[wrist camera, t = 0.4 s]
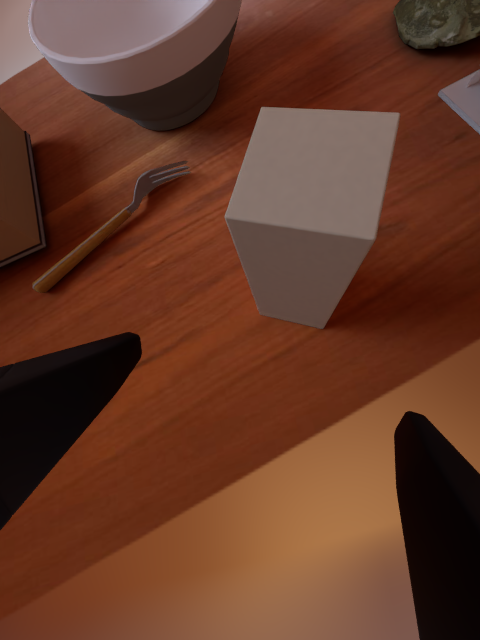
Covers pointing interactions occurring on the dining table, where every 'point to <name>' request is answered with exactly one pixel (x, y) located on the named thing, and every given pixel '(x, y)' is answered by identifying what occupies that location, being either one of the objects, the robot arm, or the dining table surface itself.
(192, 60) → the bowl
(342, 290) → the white rectangular block
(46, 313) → the dining table surface
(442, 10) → the seashell
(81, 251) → the fork
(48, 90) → the dining table surface
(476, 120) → the car cutout
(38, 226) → the book
